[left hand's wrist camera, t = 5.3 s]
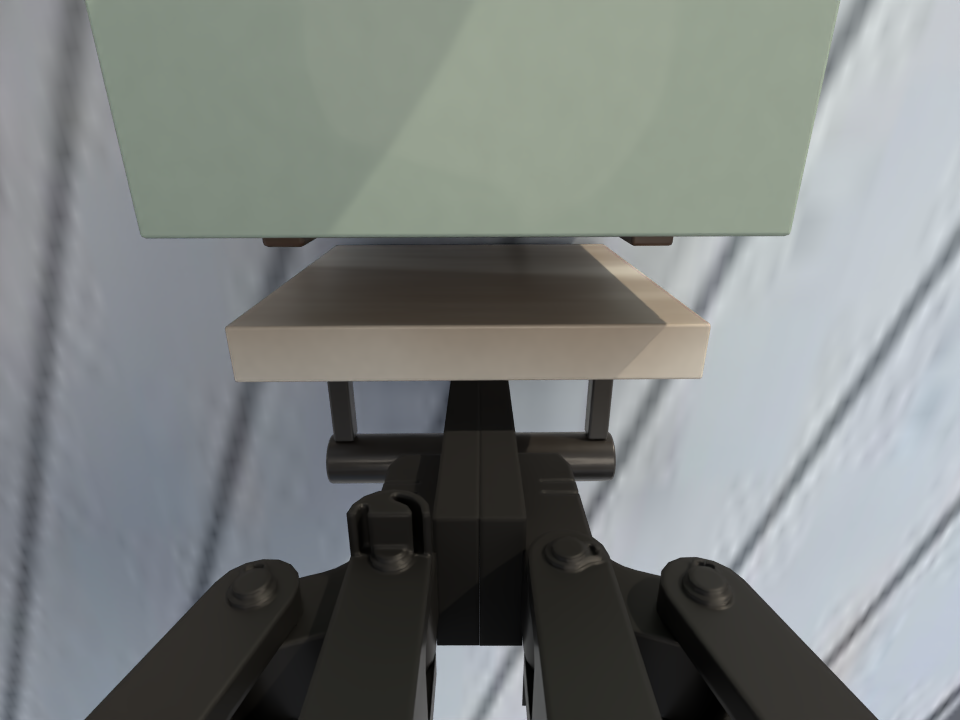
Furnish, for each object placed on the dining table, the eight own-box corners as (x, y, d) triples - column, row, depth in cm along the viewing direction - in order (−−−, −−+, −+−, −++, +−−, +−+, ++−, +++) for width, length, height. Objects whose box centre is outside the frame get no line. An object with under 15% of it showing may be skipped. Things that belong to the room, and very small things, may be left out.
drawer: (590, 405, 21) (668, 577, 13) (352, 407, 21) (272, 582, 13) (668, -513, 12) (1107, -1982, 4) (257, -519, 12) (-235, -2042, 4)
